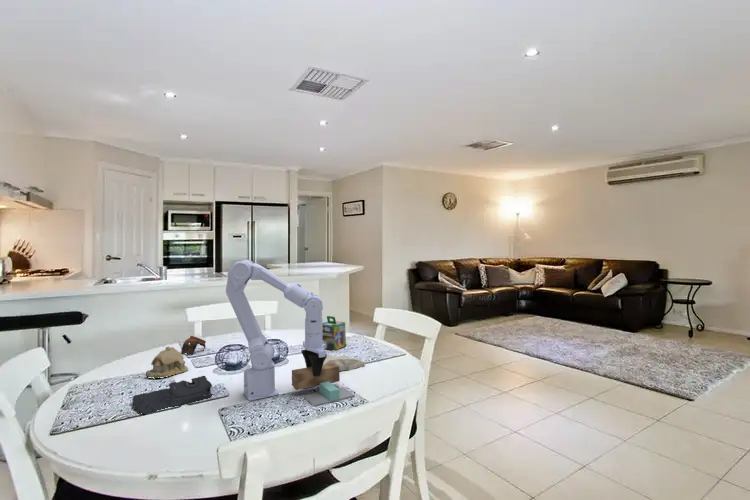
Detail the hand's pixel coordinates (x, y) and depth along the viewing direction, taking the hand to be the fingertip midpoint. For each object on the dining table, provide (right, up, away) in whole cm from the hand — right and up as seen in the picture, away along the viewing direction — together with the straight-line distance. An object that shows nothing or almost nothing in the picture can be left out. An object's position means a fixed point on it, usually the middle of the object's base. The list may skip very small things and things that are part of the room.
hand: (313, 373), depth 128 cm
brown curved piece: (-61, -5, +45) cm, 76 cm away
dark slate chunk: (-43, -7, -5) cm, 44 cm away
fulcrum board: (+6, -6, -5) cm, 10 cm away
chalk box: (+1, -5, +51) cm, 52 cm away
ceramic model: (-58, -6, +18) cm, 61 cm away
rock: (+5, -6, +24) cm, 25 cm away
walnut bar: (+1, -3, 0) cm, 3 cm away
